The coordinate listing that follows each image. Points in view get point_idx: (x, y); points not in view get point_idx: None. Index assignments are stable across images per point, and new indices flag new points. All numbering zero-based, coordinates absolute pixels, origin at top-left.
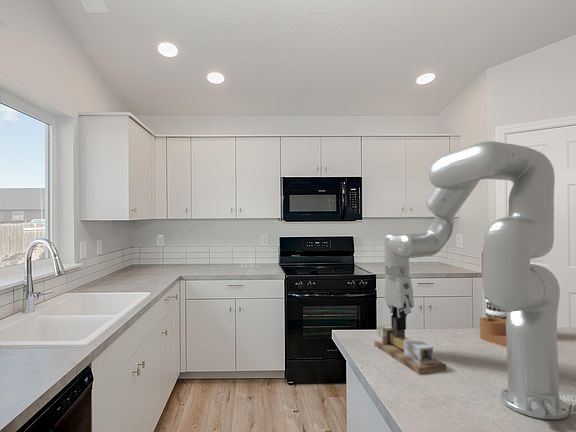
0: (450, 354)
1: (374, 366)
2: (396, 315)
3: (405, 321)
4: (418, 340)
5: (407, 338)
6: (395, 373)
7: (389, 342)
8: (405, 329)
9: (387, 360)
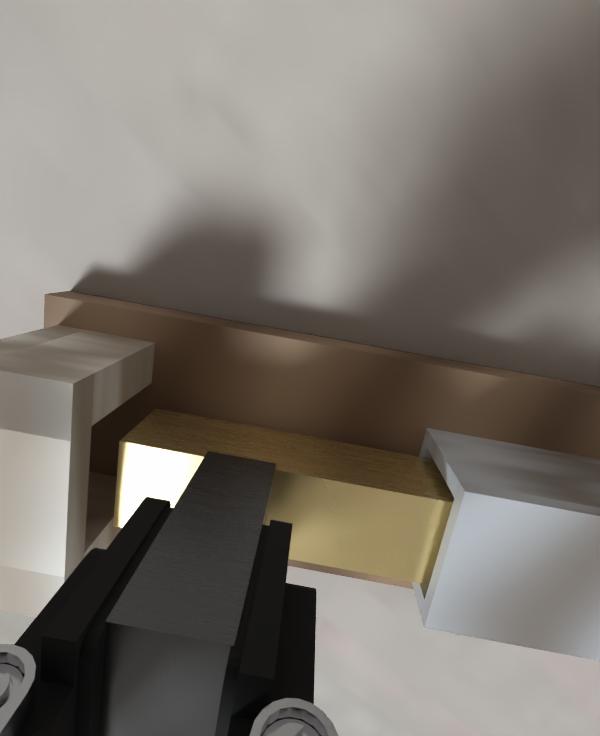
0: (526, 83)
1: (379, 719)
2: (72, 719)
3: (280, 607)
4: (529, 519)
5: (341, 490)
6: (525, 693)
7: (116, 439)
8: (290, 525)
9: (345, 607)
